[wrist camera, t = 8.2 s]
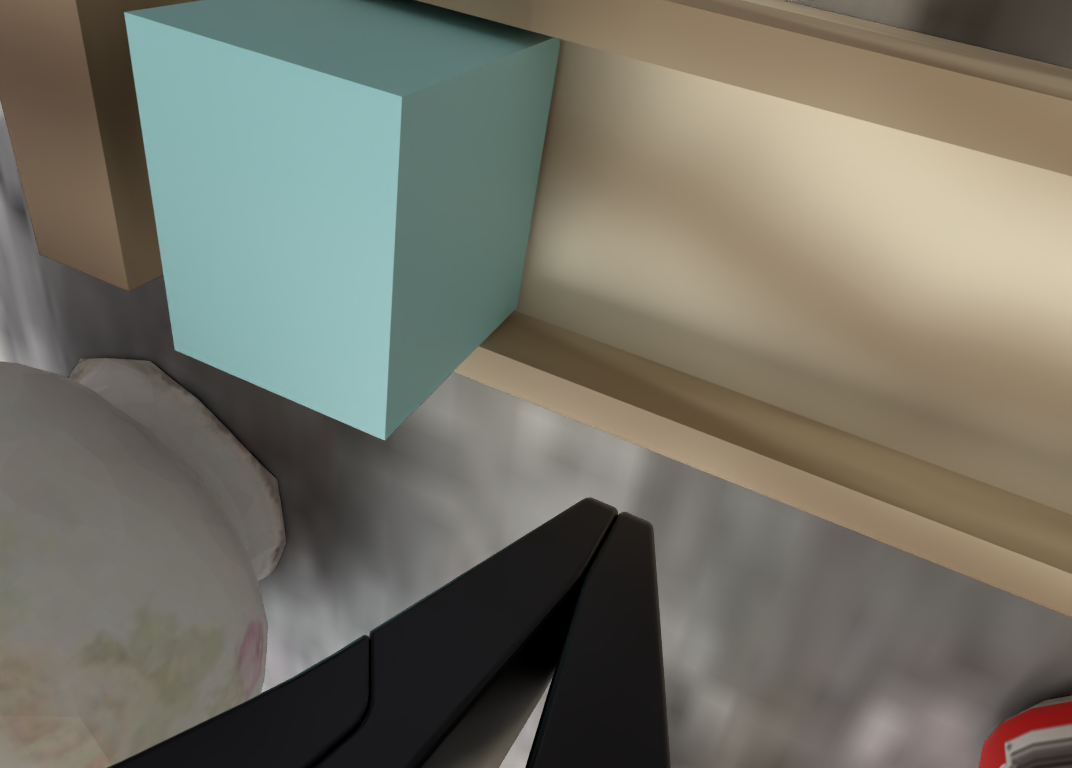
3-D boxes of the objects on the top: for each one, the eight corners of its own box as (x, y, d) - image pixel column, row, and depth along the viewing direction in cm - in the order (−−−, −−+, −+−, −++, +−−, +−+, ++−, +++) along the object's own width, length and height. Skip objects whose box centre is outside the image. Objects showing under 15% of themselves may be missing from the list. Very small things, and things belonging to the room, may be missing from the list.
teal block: (517, 307, 19) (384, 440, 14) (347, 245, 20) (174, 349, 16) (561, 34, 15) (402, 96, 11) (349, -22, 17) (124, 11, 12)
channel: (1174, 562, 17) (1245, 755, 13) (183, 195, 24) (39, 254, 20) (1547, 181, 12) (1842, 321, 8) (140, -152, 19) (-67, -164, 15)
